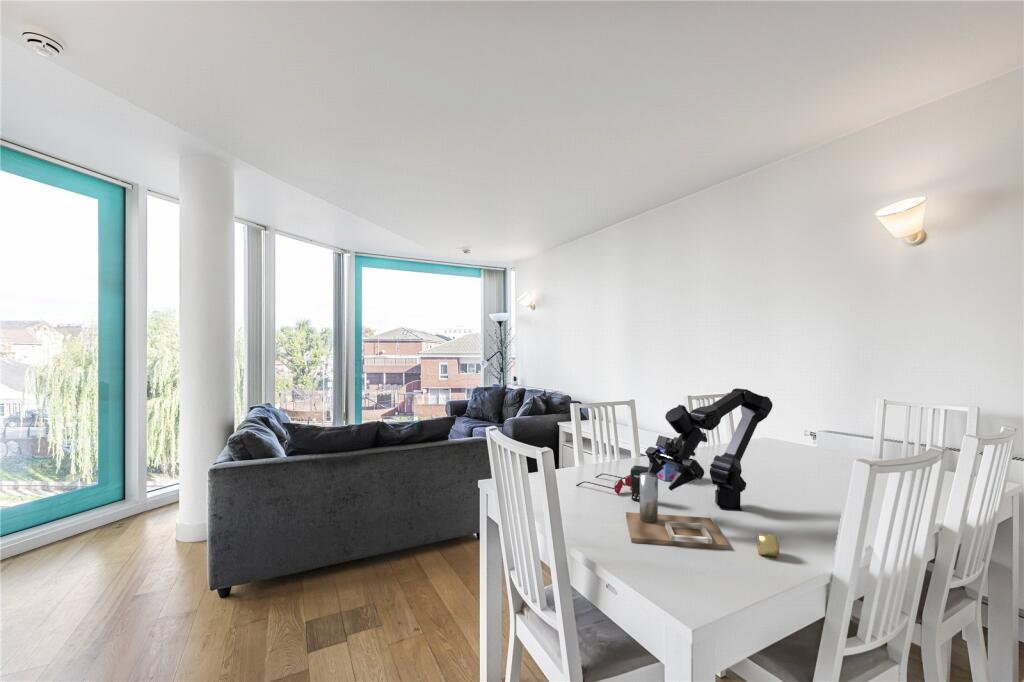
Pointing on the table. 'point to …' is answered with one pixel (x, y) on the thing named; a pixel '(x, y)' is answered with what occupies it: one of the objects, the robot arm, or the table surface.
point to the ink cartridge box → (667, 470)
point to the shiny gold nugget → (767, 544)
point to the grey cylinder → (648, 497)
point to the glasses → (618, 485)
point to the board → (676, 531)
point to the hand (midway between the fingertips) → (657, 484)
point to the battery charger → (636, 480)
